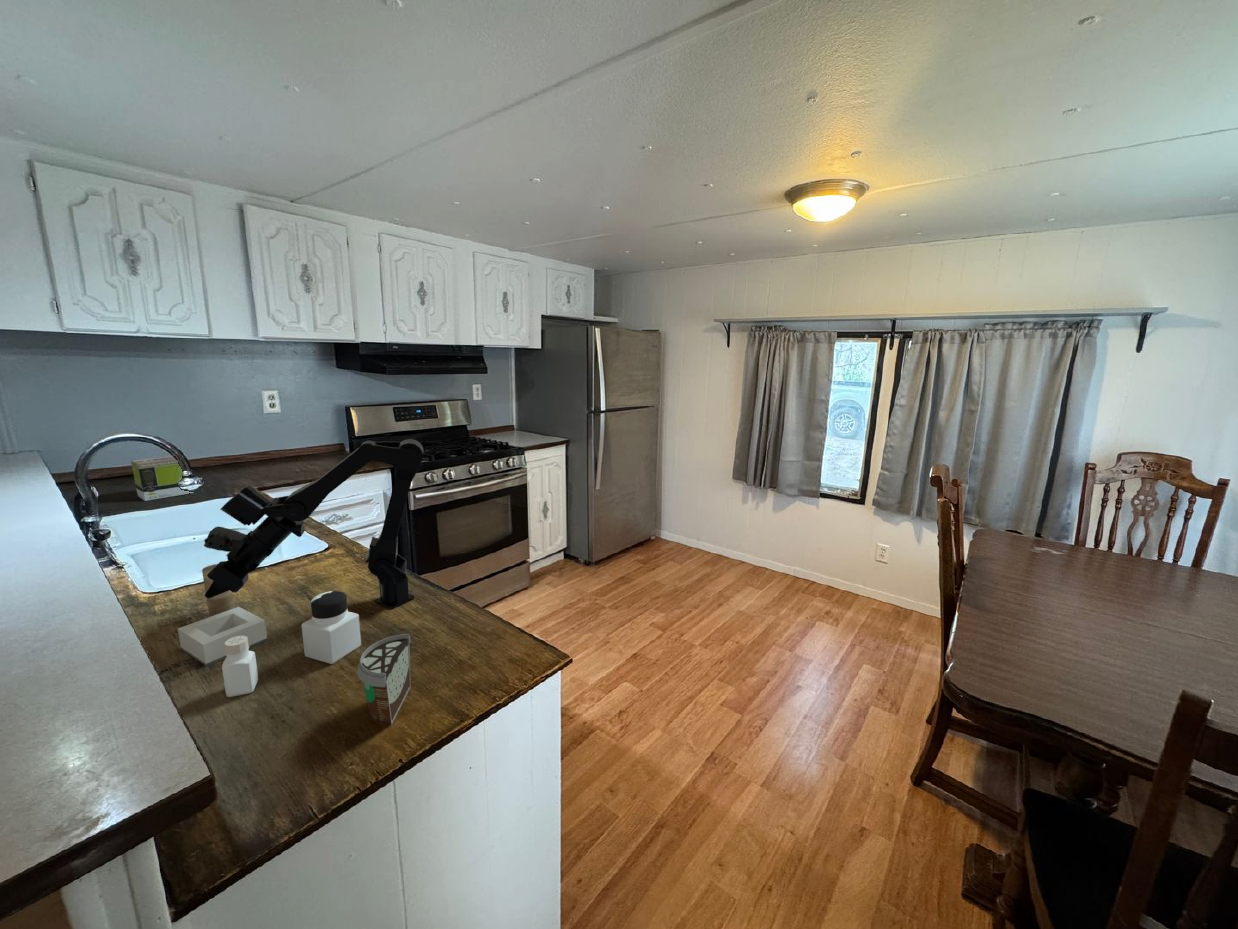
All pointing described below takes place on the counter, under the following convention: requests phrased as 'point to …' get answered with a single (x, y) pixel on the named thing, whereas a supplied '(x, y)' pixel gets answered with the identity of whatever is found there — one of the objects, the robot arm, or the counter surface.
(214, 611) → the oak plug peg
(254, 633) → the socket block
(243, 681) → the pepper shaker
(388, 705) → the food container
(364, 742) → the counter surface
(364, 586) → the counter surface
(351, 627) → the medicine bottle
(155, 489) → the tea box
